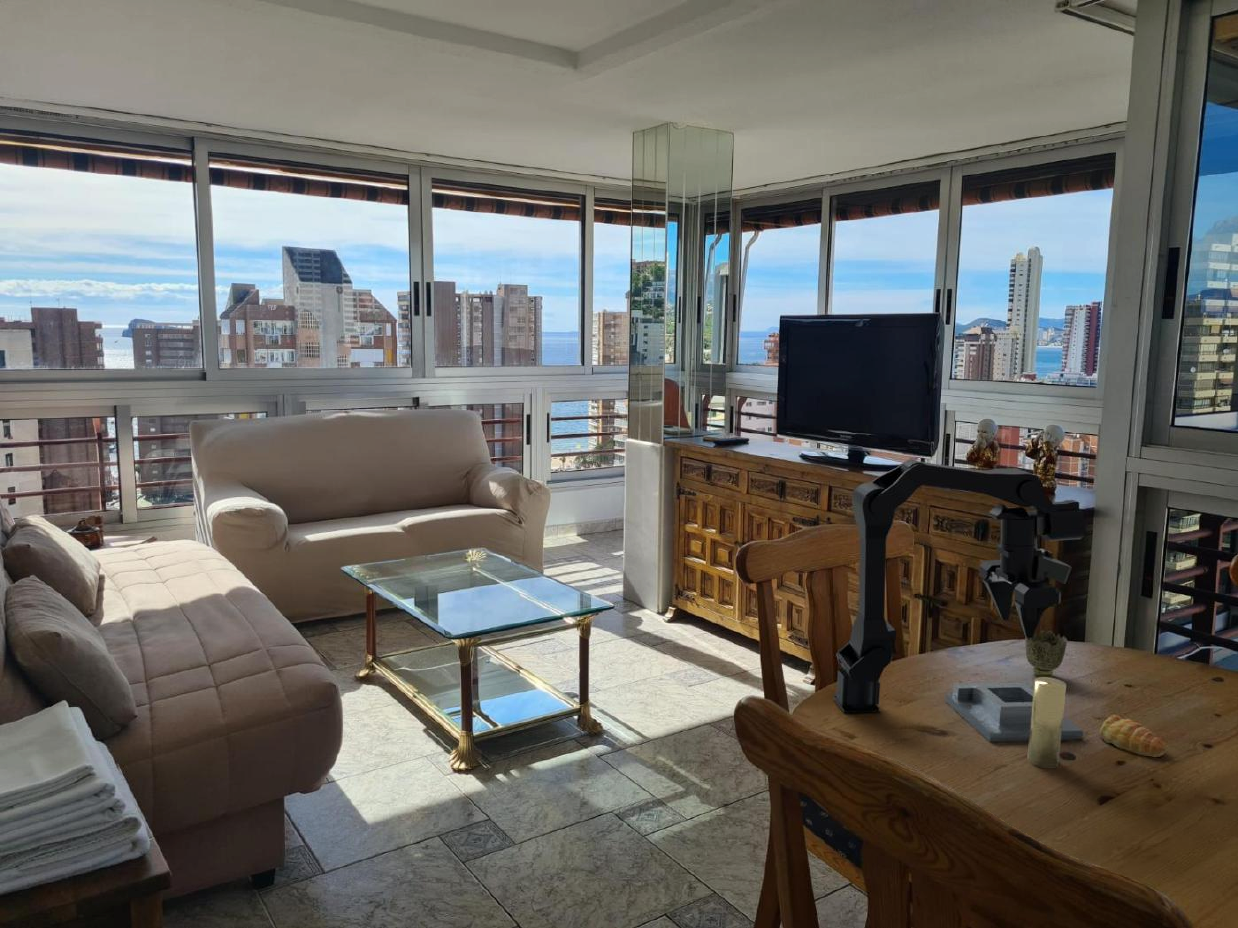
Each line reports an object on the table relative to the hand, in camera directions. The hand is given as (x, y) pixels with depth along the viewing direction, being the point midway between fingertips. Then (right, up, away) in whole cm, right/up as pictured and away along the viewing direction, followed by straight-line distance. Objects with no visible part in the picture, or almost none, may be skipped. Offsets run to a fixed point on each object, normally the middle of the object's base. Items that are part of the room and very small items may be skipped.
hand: (1016, 628), depth 159 cm
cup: (+13, -12, +18) cm, 25 cm away
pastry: (+14, -17, -11) cm, 25 cm away
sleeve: (-4, -18, -18) cm, 25 cm away
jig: (-2, -15, -3) cm, 16 cm away
